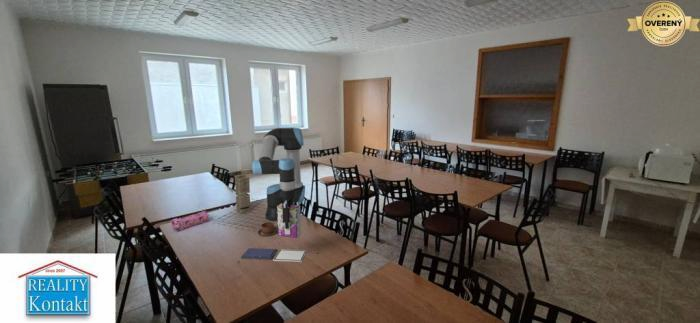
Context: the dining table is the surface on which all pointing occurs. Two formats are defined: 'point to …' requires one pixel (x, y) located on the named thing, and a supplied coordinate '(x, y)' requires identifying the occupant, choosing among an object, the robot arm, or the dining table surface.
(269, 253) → the ink pad
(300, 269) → the dining table surface
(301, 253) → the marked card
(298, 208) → the candy bar box
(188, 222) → the pencil case
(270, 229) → the cup and saucer
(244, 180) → the block tower
